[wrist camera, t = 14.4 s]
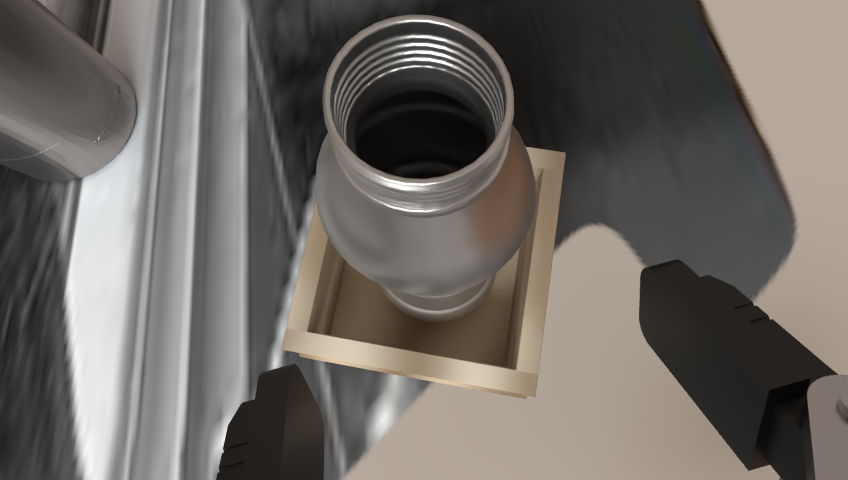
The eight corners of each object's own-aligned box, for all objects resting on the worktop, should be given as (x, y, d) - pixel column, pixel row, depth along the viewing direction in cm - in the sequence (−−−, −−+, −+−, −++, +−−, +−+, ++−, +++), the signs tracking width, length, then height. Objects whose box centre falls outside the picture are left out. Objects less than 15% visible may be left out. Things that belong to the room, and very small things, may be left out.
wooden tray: (306, 356, 29) (268, 358, 23) (350, 155, 32) (328, 108, 26) (522, 396, 28) (544, 410, 22) (549, 186, 31) (576, 144, 25)
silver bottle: (457, 346, 28) (494, 341, 8) (357, 286, 29) (175, 153, 9) (512, 250, 29) (658, 42, 9) (413, 195, 30) (358, -98, 10)
